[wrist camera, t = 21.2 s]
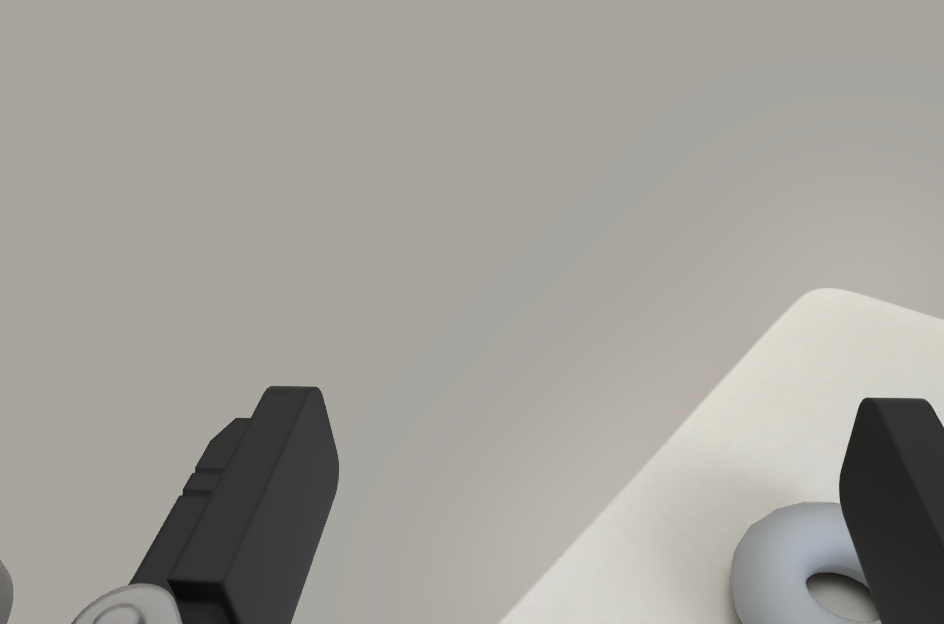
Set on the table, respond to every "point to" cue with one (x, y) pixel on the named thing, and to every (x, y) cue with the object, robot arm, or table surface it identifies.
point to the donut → (792, 564)
